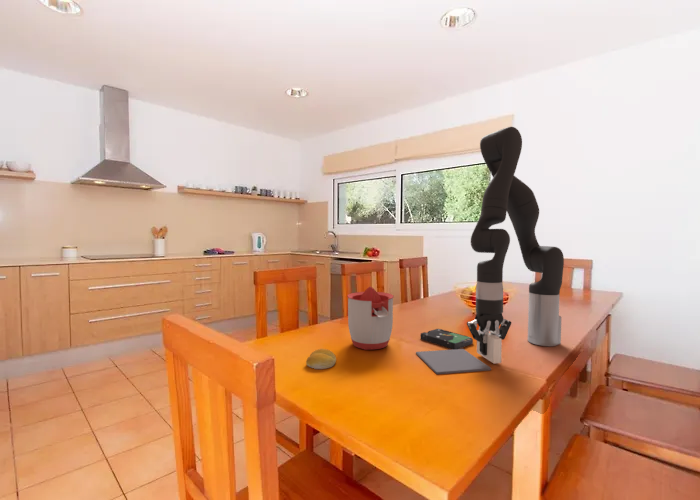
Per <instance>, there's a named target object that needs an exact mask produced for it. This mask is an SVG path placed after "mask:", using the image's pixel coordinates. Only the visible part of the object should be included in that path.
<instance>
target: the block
mask: <svg viewBox="0 0 700 500" xmlns="http://www.w3.org/2000/svg"><path fill="white" fill-rule="evenodd" d="M477 331H478V333H479V329H477ZM502 342H503V340H502V339H501V338H499V337H497V336H495V335H493V334H491V333H490V332H489V335H488V336H487V342H486V343H487V355H483V354H482V353H481V352H480V342H479V341H477V340H476V353H477V354H478V355H480V356H482V357H483V358H485V359H486V360H487V361H488V362H491V363H493V364H502V347H503V345H502Z"/></svg>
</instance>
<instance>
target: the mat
mask: <svg viewBox="0 0 700 500" xmlns="http://www.w3.org/2000/svg"><path fill="white" fill-rule="evenodd" d="M415 355H417V357H418V358H419V359H421V361H423V362H424V363H425V364H426V366H428V368H430V369H431V370H432V371H433V372H434V373H435V374H436V375H444V374H457V373H459V374H460V373H471V372H483V371H485V372H486V371H488V372H489V371H491V370H492V367H490V366H489V365H488V364H486V363H484V362H483V361H481V360H480V359H479V358H477V357H476V356H474V355H473V354H471V353H470V352H469V351H467V350H466V349H464V348H460V349H442V350H439V349H438V350H437V349H436V350H425V351H423V350H422V351H415Z"/></svg>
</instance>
